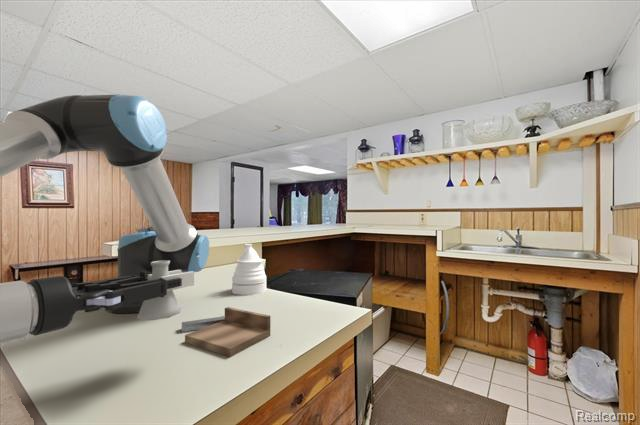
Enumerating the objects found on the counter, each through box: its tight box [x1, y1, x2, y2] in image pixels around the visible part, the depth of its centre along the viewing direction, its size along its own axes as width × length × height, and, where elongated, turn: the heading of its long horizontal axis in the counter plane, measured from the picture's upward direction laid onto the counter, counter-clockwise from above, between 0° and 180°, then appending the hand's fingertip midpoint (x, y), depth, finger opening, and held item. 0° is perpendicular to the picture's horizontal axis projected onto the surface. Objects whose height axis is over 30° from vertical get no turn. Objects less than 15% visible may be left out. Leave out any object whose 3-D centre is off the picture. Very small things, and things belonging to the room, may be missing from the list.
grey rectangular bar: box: [181, 315, 225, 333], centre depth 71 cm, size 2×10×2 cm, turn 117°
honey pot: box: [231, 243, 267, 296], centre depth 110 cm, size 13×13×18 cm
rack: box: [184, 306, 271, 358], centre depth 64 cm, size 14×12×4 cm
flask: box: [136, 261, 181, 321], centre depth 54 cm, size 7×7×10 cm
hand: (186, 277), depth 58 cm, fingers closed on flask, 3 cm apart
